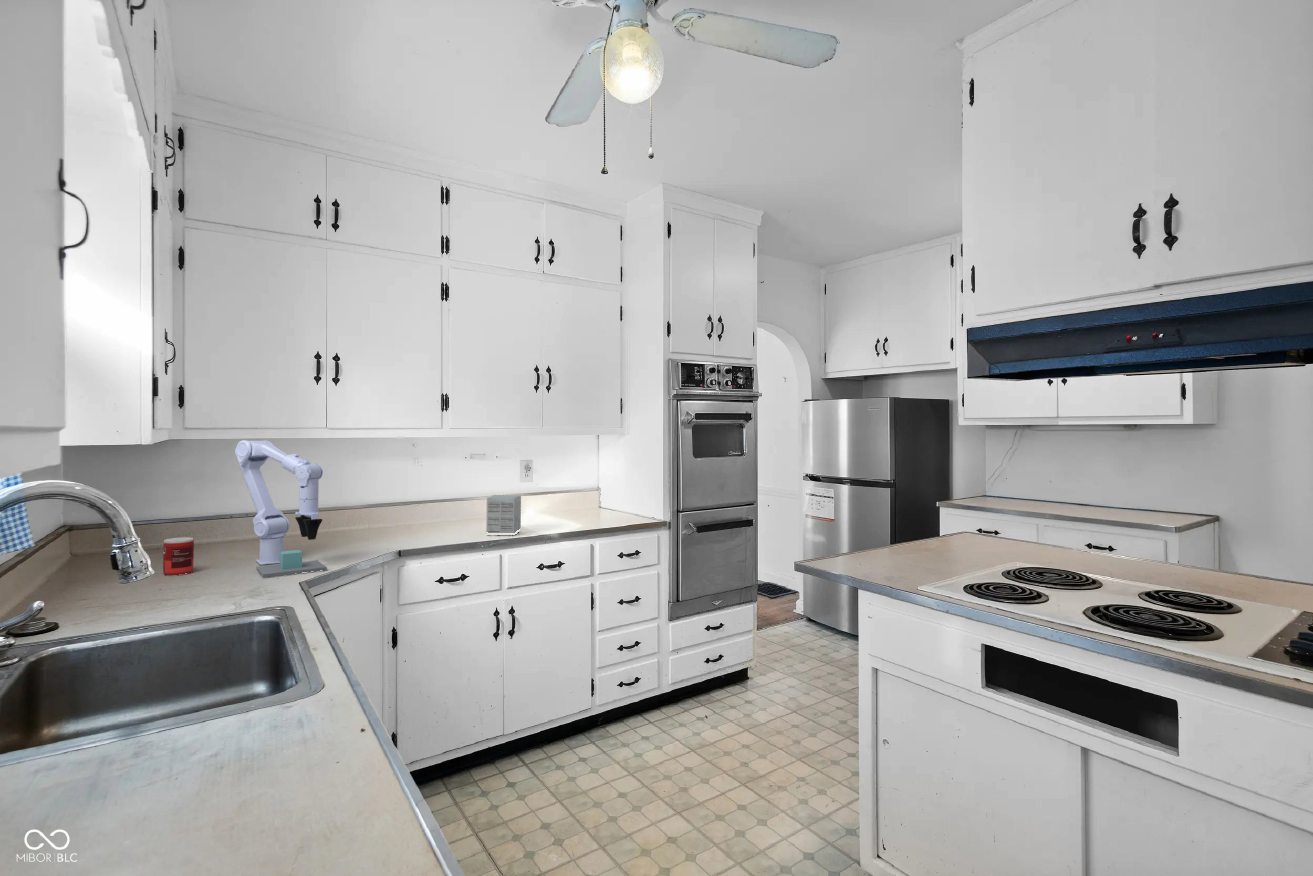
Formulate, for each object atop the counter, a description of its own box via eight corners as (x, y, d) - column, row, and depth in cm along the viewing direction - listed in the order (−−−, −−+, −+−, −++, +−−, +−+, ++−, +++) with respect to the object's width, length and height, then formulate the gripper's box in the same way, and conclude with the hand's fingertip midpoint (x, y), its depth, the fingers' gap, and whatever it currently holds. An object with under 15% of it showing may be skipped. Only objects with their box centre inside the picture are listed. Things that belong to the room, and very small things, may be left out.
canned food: (176, 570, 202) (176, 537, 202) (199, 571, 202) (200, 537, 202) (156, 575, 194) (156, 541, 194) (180, 576, 194) (181, 541, 194)
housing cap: (279, 566, 204) (279, 551, 204) (298, 564, 208) (298, 549, 207) (282, 569, 200) (282, 554, 200) (302, 567, 203) (302, 552, 203)
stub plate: (256, 570, 203) (256, 559, 203) (317, 563, 215) (317, 553, 215) (262, 578, 193) (263, 566, 193) (326, 570, 204) (326, 559, 204)
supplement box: (493, 531, 292) (493, 494, 292) (521, 531, 292) (521, 495, 292) (485, 536, 279) (486, 497, 279) (514, 536, 279) (515, 497, 279)
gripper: (289, 497, 214) (289, 536, 214) (302, 501, 204) (301, 542, 204) (312, 496, 219) (311, 534, 219) (325, 499, 209) (324, 539, 209)
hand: (308, 538), depth 212 cm, fingers open, 7 cm apart
